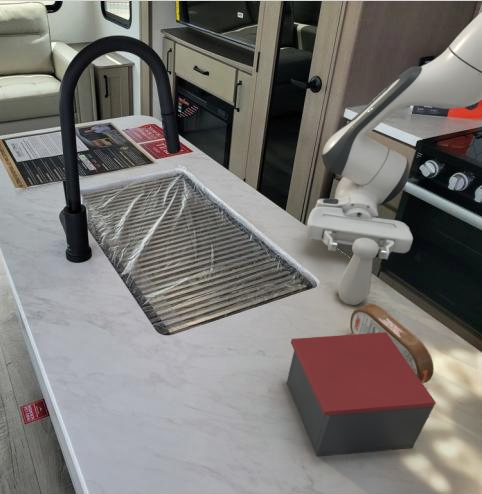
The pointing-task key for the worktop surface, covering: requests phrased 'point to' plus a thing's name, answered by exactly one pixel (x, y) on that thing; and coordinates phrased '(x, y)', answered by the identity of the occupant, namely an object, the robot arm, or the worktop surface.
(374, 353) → the storage bin lid
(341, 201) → the robot arm
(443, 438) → the worktop surface
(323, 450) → the dark grey storage bin
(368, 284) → the salt shaker
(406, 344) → the tin
